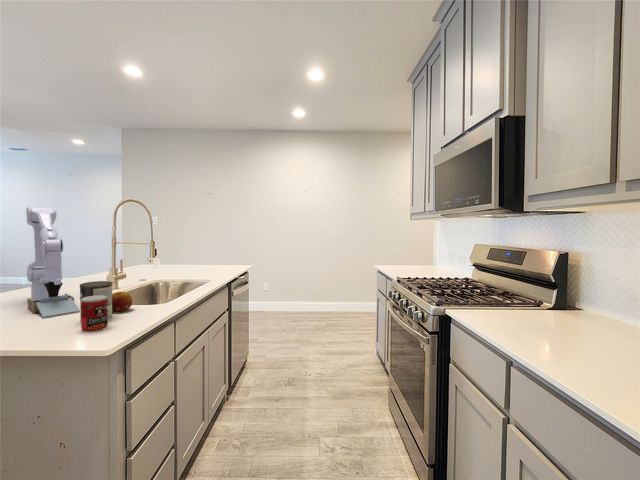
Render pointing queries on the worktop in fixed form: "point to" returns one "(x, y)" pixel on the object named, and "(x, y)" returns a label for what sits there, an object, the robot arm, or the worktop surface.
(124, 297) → the fruit
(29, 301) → the box
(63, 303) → the lid
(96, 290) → the coffee can
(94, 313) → the canned food
